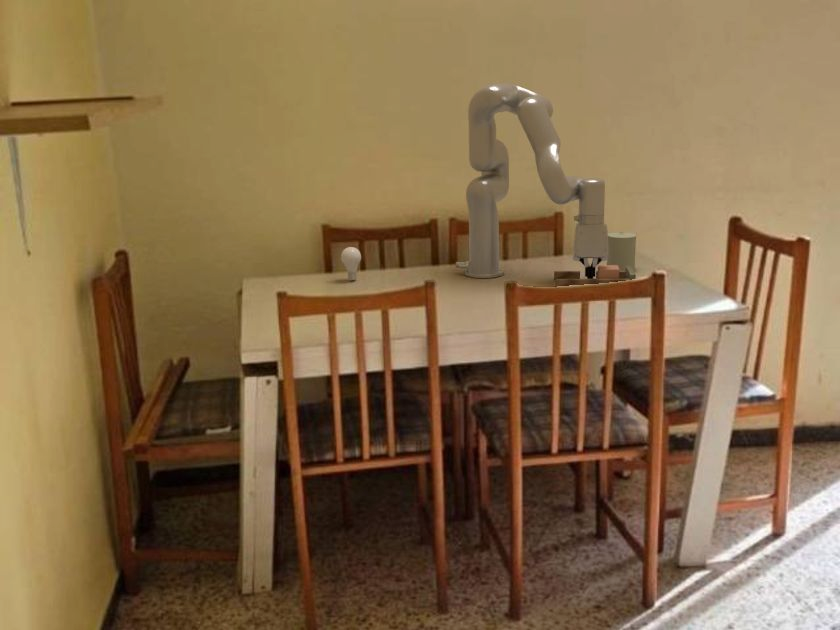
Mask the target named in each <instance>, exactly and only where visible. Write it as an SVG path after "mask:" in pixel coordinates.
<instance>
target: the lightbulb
mask: <svg viewBox="0 0 840 630" xmlns="http://www.w3.org/2000/svg"><path fill="white" fill-rule="evenodd" d="M340 259H341V262H342V264H343V265H344V266H345V269H346V271H347V279H348V280H349V281H351V282H354V281H355V280H357V270H358V266H359V264H360V263H361V260H362V255H361V252H360V250H359V249H358V248H357V247H353V246H348V247H346V248H344V249H343V250H342V251H341V255H340Z"/></svg>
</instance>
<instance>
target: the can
mask: <svg viewBox="0 0 840 630" xmlns="http://www.w3.org/2000/svg"><path fill="white" fill-rule="evenodd" d="M636 243H637V234H636V233H633V232H626V231H625V232H622V231H621V232H619V231H618V232H617V231H616V232H610V233H608V260H606V265H618V267H619V271H625V270H626V266H631V268H632V269H633V271H634V272H636V245H637V244H636Z"/></svg>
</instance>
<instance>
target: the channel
mask: <svg viewBox="0 0 840 630" xmlns="http://www.w3.org/2000/svg"><path fill="white" fill-rule="evenodd" d="M636 276H637V275H636V273H635V271H633V269H632V268H631V266H626V270H625V271H619V279H597V277H598V270H595V278H593V279H587V278H581V271H580V270H554V271H553V280H554V281H555V285H554V286H556V287H557V286H569V285H584V284H599V283H609V282H618V281H626V280H632V279H636ZM556 287H555V288H556Z"/></svg>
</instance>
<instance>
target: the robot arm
mask: <svg viewBox="0 0 840 630" xmlns="http://www.w3.org/2000/svg"><path fill="white" fill-rule="evenodd" d="M503 112H508V113H510V114H514V115H517V117H518V121H519V124H520V125H521V127H522V129H523V131H524V133H525V134H526V137H527V139H528V141H529V144H530V146H531V148H532V150H533V153H534V160H535V163H536V164H535V165H536V169H537V170H536V171H537V174H538V177H539V180H540V183H541V184H542V186H543V188H544V191H545V193H546V194H547V196H548V197H549V198H548V199H550V200H551V202H553V204H557V205H561V206H562V205H566V204H569V203H572V202H575V201H578V214H577V215H573V221H576V222H578V223H576V225H575V230H574V239H573V254H572V255H573V256H572V260H573V261H576V262H580V263H581V264H582V265H583V266H584V277H585V278H586V279H594V277H595V278H596V267H598V265H600V263H602V262H605V261H607V260H608V234H609V231H608V227H607V224H606V223H605V203H606V201H605V199H606V198H605V196H606V195H605V194H606V183H605V180H604V179H603V178H600V177H586V178H585V177H579V176H574V175H568V176H566V175H565V172H564V170H563V168H562V165H561V162H560V150H561V149H560V148H561V138H560V137H559V134H558V132H557V130H556V128H555V126H554V124H553V122H552V119H551V118H552V116H553V112H554V108H553V103H552V102H551V101H550V99H549V98H547V97H546V96H543V94H539V93H536V92H534V91H531V90H529V89H527V88H524V87H522V86H519V85H516V84H513V83H505V82H504V83H493V84H489V85H486V86H484V87H481V88H480V89H478V91H476V92H475V93H474V94H473V96H472V98H471V99H470V101H469V104H468V110H467V113H468V114H467V115H468V116H467V117H468V119H467V120H468V161H469V164H470V167H471V168H472V169H473V170H474V171H476V172H481V175H479V176H477V177H475V178H473V179H472V180H471V181H470V182H469V184H468V185H467V187H466V191H465V199H466V205H467V211H468V214H467V215H468V241H469V242H468V244H469V246H468V249H469V252H468V253H469V254H468V255H469V258H468V260H465V261H455V268H456V269H465V270H464V275H466V277H470V278H477V279H490V278H491V279H492V278H498V277H501V276H503V275H504V274H505V271H504V268H502V267H500V224H499V223H500V222H499V221H500V220H499V213H498V207H497V203H498V202H500V201H502V200H504V199H505V198H506V196H507V195H508V193H509V188H510V160H509V159H510V158H509V156H510V155H509V151H508V148H507V146H506V144H505V142H503V141H501V140H499V139H497V125H496V120H495V114H497V113H503ZM589 259H592V261H591V263H589Z"/></svg>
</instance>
